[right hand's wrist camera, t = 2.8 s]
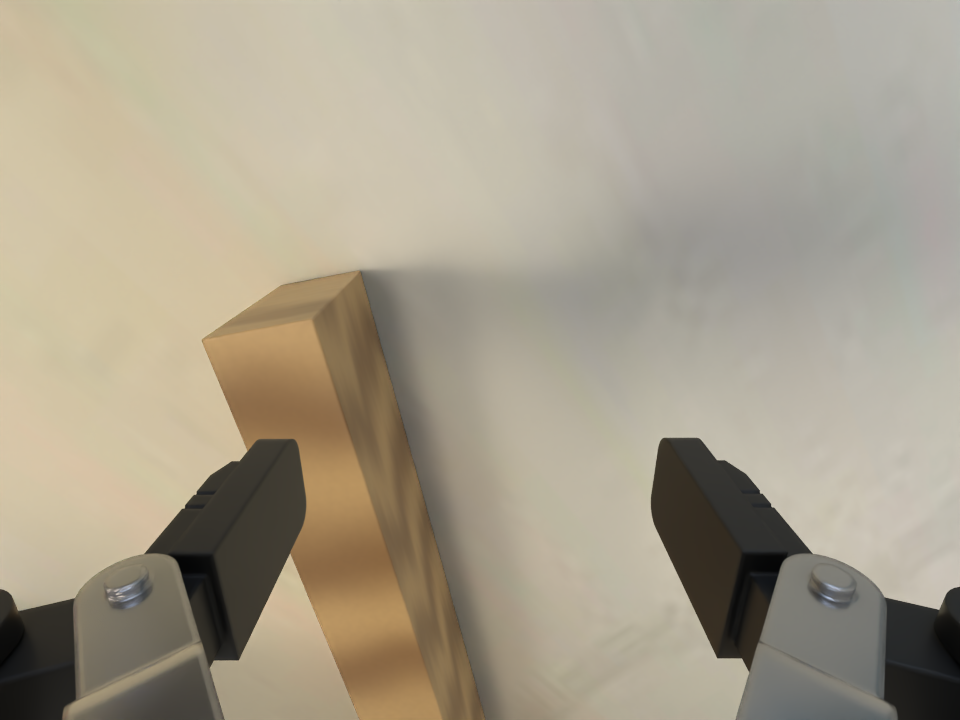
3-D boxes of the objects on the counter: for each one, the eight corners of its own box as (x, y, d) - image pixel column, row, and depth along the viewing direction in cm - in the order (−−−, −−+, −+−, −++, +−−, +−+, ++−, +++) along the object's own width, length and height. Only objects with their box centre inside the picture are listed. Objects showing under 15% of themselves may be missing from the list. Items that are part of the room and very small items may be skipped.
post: (279, 285, 27) (200, 339, 19) (360, 270, 27) (312, 318, 19) (467, 835, 46) (465, 975, 38) (516, 829, 46) (524, 970, 38)
